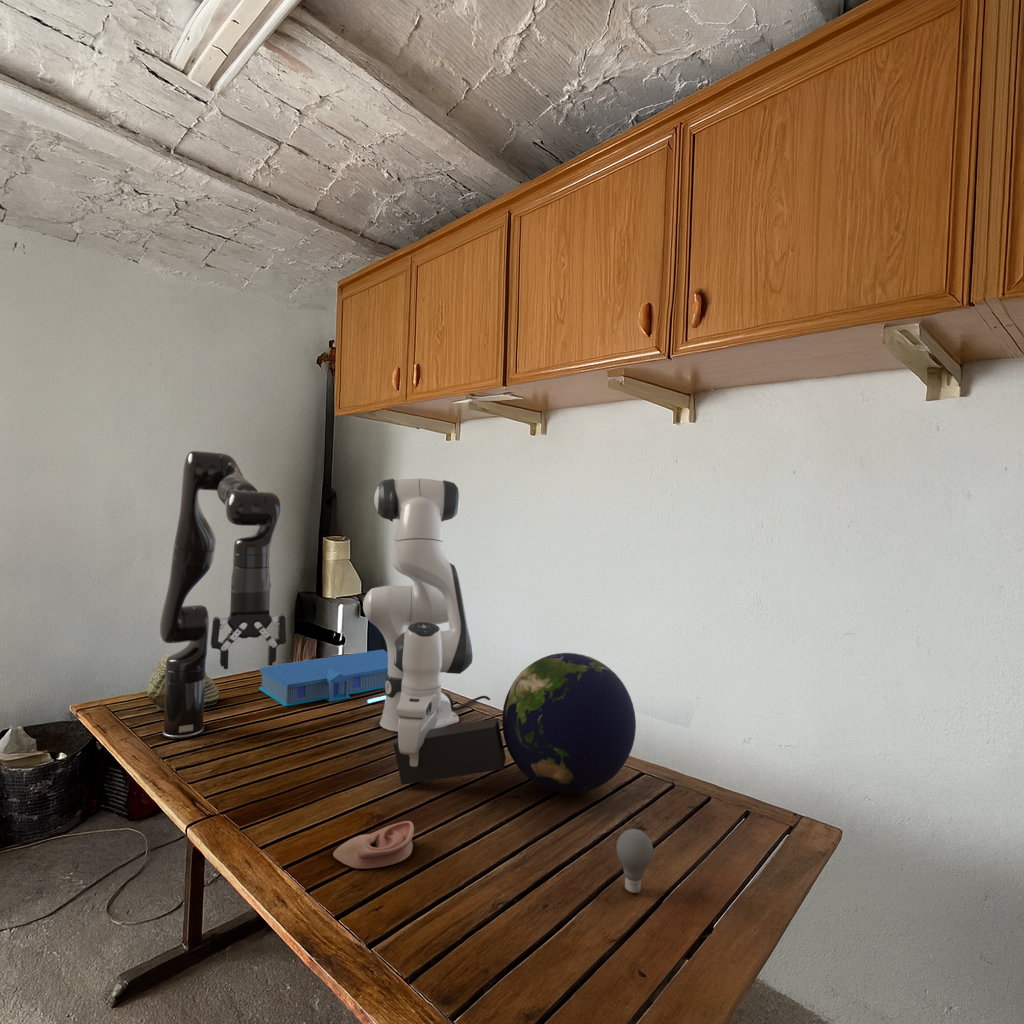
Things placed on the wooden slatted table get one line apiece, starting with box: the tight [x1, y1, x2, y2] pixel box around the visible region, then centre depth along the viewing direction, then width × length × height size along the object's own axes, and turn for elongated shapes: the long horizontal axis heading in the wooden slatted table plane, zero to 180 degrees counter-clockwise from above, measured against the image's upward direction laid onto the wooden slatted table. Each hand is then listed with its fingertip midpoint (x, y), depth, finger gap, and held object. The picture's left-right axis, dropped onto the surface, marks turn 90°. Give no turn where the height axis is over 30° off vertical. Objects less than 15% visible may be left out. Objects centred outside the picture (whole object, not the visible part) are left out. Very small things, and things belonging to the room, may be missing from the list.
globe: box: [501, 652, 637, 794], centre depth 143 cm, size 30×30×30 cm
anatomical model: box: [332, 820, 415, 870], centre depth 114 cm, size 13×4×12 cm
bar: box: [392, 717, 507, 786], centre depth 140 cm, size 23×5×9 cm, turn 84°
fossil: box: [147, 654, 221, 712], centre depth 185 cm, size 9×18×15 cm, turn 132°
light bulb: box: [615, 828, 654, 894], centre depth 106 cm, size 6×6×10 cm
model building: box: [258, 649, 388, 707], centre depth 208 cm, size 39×24×10 cm, turn 132°
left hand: (248, 666), depth 131 cm, fingers open, 8 cm apart
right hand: (418, 759), depth 141 cm, fingers closed on bar, 5 cm apart
